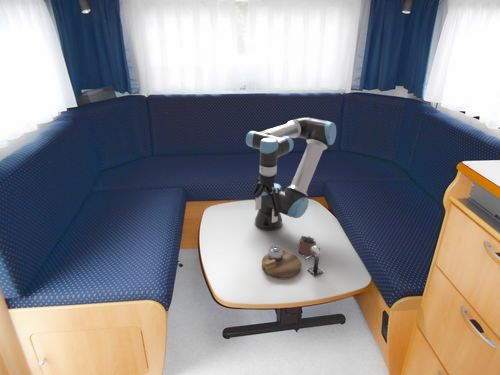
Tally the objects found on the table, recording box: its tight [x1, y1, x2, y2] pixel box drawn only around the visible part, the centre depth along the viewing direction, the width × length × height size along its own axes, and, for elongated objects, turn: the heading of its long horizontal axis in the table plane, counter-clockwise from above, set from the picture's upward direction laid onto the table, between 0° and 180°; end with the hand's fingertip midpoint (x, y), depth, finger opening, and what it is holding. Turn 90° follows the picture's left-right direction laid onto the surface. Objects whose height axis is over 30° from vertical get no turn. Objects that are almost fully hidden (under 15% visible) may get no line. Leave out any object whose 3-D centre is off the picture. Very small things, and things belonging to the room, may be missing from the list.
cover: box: [267, 245, 285, 262], centre depth 162 cm, size 7×7×5 cm
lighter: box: [297, 235, 317, 257], centre depth 167 cm, size 8×3×10 cm, turn 71°
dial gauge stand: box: [304, 245, 324, 278], centre depth 154 cm, size 5×8×14 cm, turn 123°
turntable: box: [261, 250, 302, 280], centre depth 159 cm, size 18×18×5 cm
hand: (266, 215), depth 162 cm, fingers open, 12 cm apart
